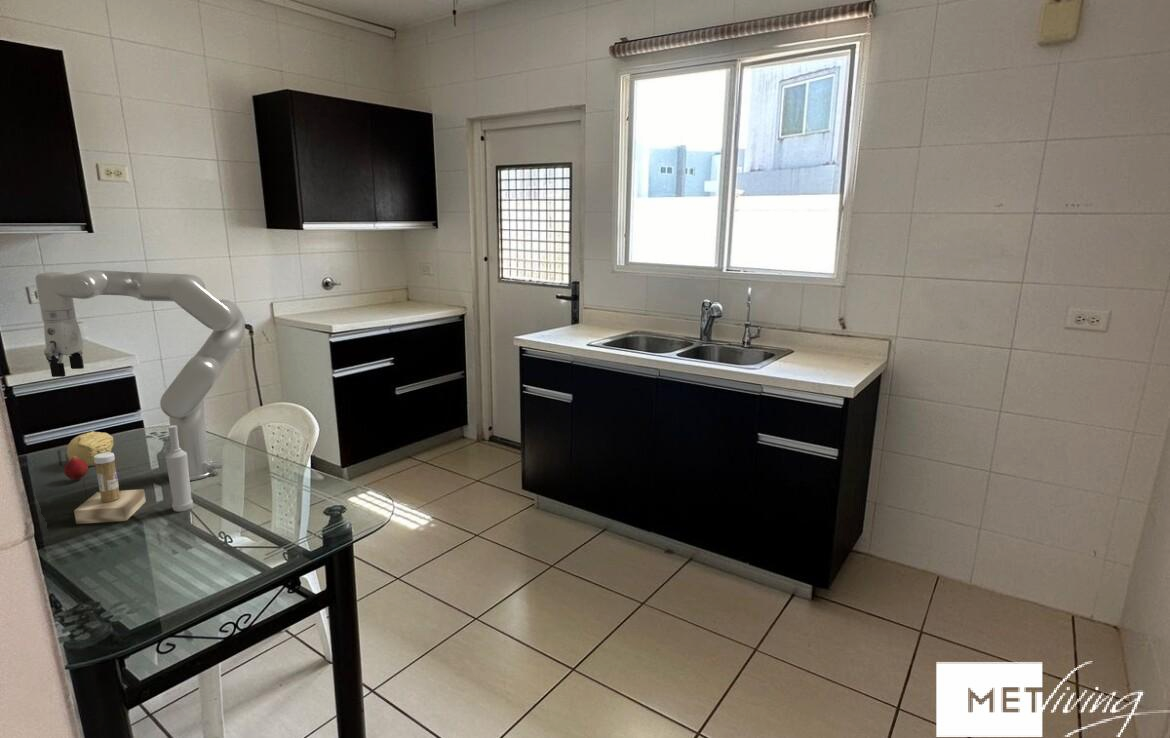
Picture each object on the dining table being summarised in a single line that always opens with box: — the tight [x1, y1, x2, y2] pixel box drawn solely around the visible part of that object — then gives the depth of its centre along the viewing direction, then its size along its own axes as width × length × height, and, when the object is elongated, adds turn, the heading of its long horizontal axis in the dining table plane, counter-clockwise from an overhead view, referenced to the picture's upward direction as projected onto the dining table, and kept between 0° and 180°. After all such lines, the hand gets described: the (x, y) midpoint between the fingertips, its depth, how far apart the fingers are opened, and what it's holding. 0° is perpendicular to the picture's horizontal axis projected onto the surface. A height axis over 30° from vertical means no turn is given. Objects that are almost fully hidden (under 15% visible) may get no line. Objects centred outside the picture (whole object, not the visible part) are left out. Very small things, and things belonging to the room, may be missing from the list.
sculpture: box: [66, 430, 114, 467], centre depth 208 cm, size 12×12×11 cm
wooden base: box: [73, 488, 147, 525], centre depth 176 cm, size 12×12×4 cm
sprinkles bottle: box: [94, 451, 120, 502], centre depth 174 cm, size 5×5×14 cm
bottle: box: [165, 425, 194, 513], centre depth 177 cm, size 5×5×25 cm
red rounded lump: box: [63, 456, 89, 481], centre depth 195 cm, size 6×6×8 cm
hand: (68, 372), depth 184 cm, fingers open, 9 cm apart
